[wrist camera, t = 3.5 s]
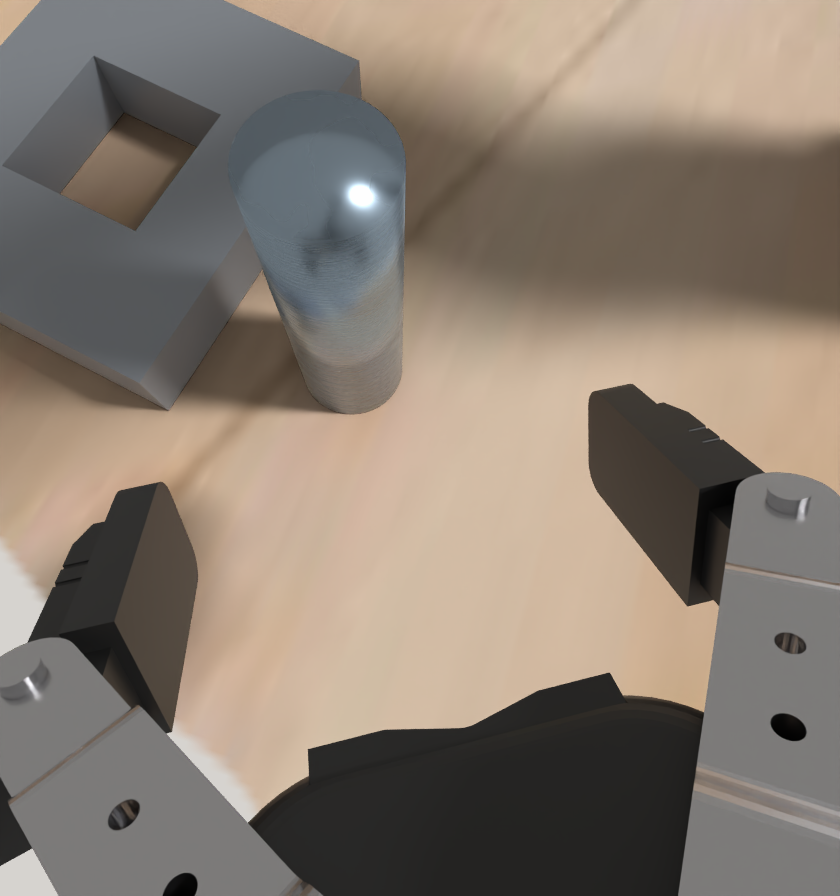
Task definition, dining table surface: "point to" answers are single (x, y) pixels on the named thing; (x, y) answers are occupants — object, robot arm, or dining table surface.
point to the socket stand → (178, 209)
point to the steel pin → (329, 237)
